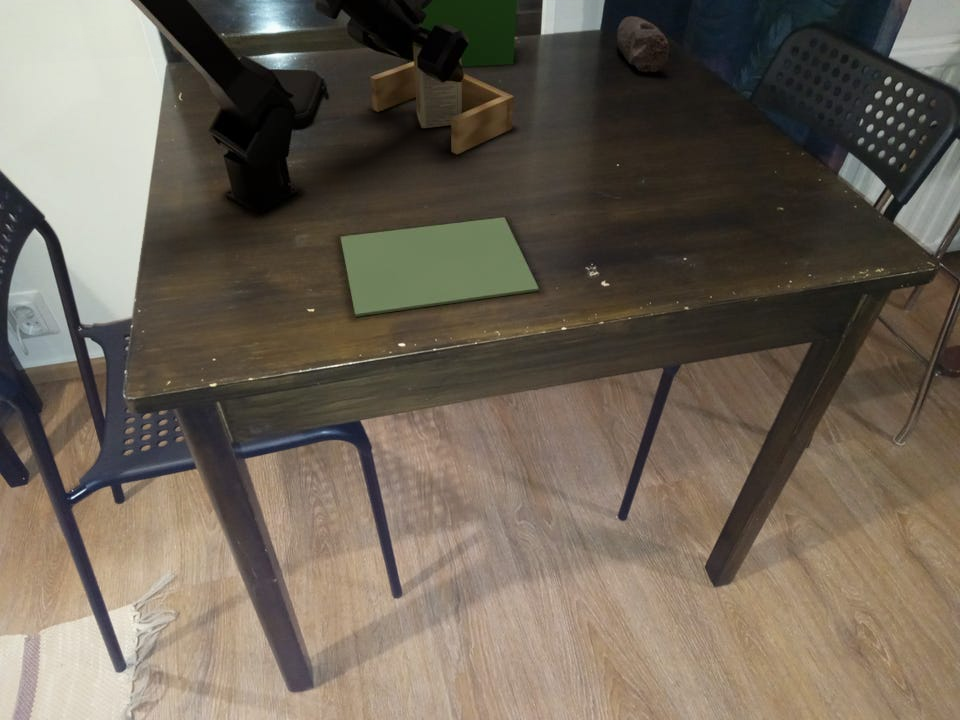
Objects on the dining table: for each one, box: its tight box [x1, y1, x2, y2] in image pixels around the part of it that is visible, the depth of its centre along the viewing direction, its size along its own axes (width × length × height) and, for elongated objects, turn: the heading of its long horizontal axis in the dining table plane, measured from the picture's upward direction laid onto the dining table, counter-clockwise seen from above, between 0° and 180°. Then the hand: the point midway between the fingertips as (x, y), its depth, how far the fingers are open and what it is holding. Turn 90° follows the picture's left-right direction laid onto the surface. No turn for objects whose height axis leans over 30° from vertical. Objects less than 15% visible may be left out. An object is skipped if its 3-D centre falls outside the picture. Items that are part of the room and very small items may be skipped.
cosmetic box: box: [413, 45, 463, 129], centre depth 99 cm, size 6×4×12 cm
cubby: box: [369, 61, 515, 155], centre depth 102 cm, size 11×18×5 cm, turn 45°
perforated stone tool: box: [616, 15, 670, 73], centre depth 118 cm, size 15×5×7 cm, turn 12°
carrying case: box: [269, 68, 328, 126], centre depth 104 cm, size 11×3×15 cm
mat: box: [340, 216, 540, 318], centre depth 79 cm, size 20×14×1 cm
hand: (439, 68), depth 98 cm, fingers open, 9 cm apart
